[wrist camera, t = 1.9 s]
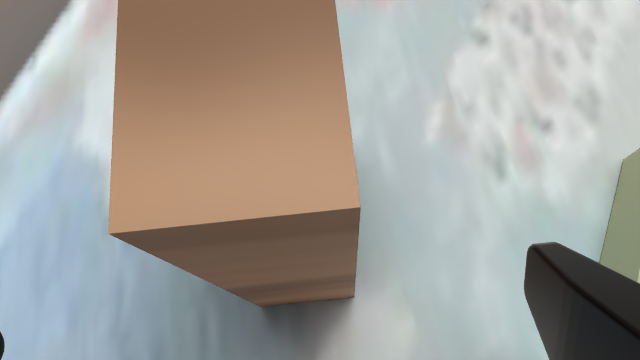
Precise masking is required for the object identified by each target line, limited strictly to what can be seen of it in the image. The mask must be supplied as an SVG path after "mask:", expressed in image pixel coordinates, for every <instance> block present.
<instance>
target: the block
mask: <svg viewBox="0 0 640 360" xmlns="http://www.w3.org/2000/svg"><path fill="white" fill-rule="evenodd" d="M600 264H602V265H604V266H606V267H608V268H610V269H612V270H614V271H616V272H618V273H620V274H622V275H624V276H626V277H628V278H630V279H632V280H634V281H636V282H638V283H640V148H639V149H638V150H637V151H635V152H634V153H632V154H631V155H629V156H628V157H627V158H625V159H624V160H623V164H622V168H621V173H620V177H619V181H618V186H617V190H616V194H615V198H614V203H613V207H612V211H611V216H610V220H609V224H608V229H607V233H606V237H605V241H604V246H603V250H602V254H601V259H600Z"/></svg>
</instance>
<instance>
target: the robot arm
mask: <svg viewBox="0 0 640 360" xmlns="http://www.w3.org/2000/svg"><path fill="white" fill-rule="evenodd" d="M524 292H525V297H526V300H527V303H528V305H529V308H530V311H531V313H532V316H533V318H534V321H535V324H536V326H537V329H538V331H539V334H540V337H541V339H542V342H543V344H544V347H545V350H546V352H547V355H548V357H549V360H640V283H638V282H636V281H634V280H632V279H630V278H628V277H626V276H624V275H622V274H620V273H618V272H616V271H614V270H612V269H610V268H608V267H606V266H604V265H602V264H600V263H598V262H596V261H594V260H592V259H590V258H588V257H586V256H584V255H581V254H579V253H577V252H575V251H573V250H571V249H569V248H567V247H565V246H563V245H561V244H559V243H557V242H548V243H539V244H532V245H531V246H530V247H529V248H528V251H527V258H526V269H525V280H524ZM3 352H4V338H3V336H2V334H1V332H0V360H1V358H2V356H3Z"/></svg>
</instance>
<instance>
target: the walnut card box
mask: <svg viewBox="0 0 640 360" xmlns="http://www.w3.org/2000/svg"><path fill="white" fill-rule="evenodd" d="M359 221H360V200H359V192H358V183H357V175H356V167H355V159H354V151H353V143H352V135H351V127H350V119H349V111H348V102H347V94H346V86H345V78H344V70H343V62H342V54H341V46H340V38H339V30H338V22H337V13H336V5H335V0H118V17H117V41H116V64H115V88H114V111H113V135H112V159H111V182H110V206H109V229H108V234H110V235H112V236H114V237H116V238H118V239H120V240H122V241H124V242H127V243H129V244H131V245H133V246H135V247H137V248H139V249H141V250H143V251H145V252H148V253H150V254H152V255H154V256H156V257H158V258H160V259H162V260H164V261H166V262H168V263H171V264H173V265H175V266H177V267H179V268H181V269H183V270H185V271H187V272H189V273H191V274H194V275H196V276H198V277H200V278H202V279H204V280H206V281H208V282H210V283H212V284H214V285H217V286H219V287H221V288H223V289H225V290H227V291H229V292H231V293H233V294H235V295H237V296H240V297H242V298H244V299H246V300H248V301H250V302H252V303H254V304H256V305H258V306H270V305H280V304H290V303H300V302H310V301H320V300H330V299H339V298H349V297H354V292H355V278H356V263H357V249H358V235H359Z"/></svg>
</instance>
